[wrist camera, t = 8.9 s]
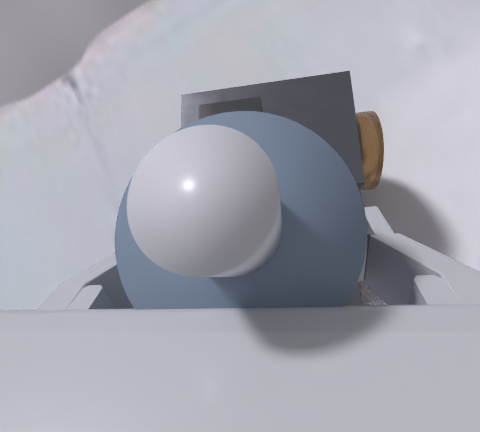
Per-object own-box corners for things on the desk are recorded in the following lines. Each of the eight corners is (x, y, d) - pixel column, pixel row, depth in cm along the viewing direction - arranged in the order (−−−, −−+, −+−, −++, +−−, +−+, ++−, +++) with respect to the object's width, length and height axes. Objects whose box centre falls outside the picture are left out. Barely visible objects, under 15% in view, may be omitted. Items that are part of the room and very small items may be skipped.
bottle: (211, 289, 15) (-33, 322, 4) (239, 204, 16) (110, 13, 4) (301, 321, 14) (353, 515, 3) (326, 228, 15) (454, 55, 3)
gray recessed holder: (206, 322, 26) (144, 355, 15) (206, 148, 30) (157, 72, 19) (373, 321, 24) (449, 360, 13) (349, 133, 28) (390, 34, 17)
